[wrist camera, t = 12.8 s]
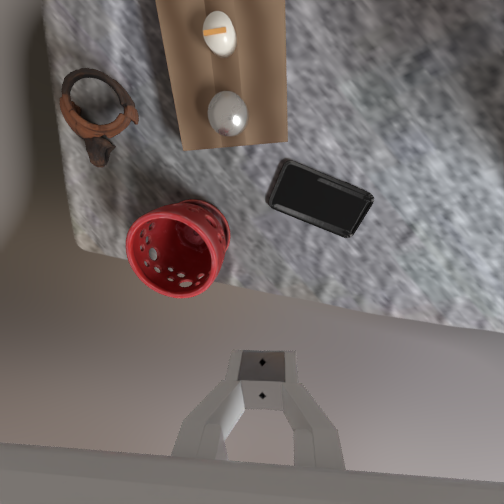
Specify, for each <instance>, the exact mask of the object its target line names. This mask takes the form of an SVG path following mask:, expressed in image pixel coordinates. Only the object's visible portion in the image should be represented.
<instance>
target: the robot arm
mask: <svg viewBox="0 0 504 504" xmlns="http://www.w3.org/2000/svg"><path fill="white" fill-rule="evenodd" d="M245 409H267V410H280V411H283V412H284V414H285V416H286V418H287V420H288V422H289V424H290V426H291V427H292V429H293V431H294V466H290V465H277V464H265V463H252V462H239V461H229V459H228V455H227V451H226V446H225V442H224V441H225V439H226V438H227V436H228V435H229V433H230V432H231V430H232V429H233V427H234V426H235V424H236V423H237V421H238V420H239V418H240V417H241V415H242V414H243V412H244V411H245ZM0 504H504V482H491V481H479V480H466V479H453V478H441V477H428V476H415V475H403V474H390V473H378V472H365V471H353V470H346V469H345V464H344V459H343V454H342V449H341V444H340V439H339V435H338V430H337V429H336V428H335V426H334V425H333V424H332V422H331V421H330V420H329V418H328V417H327V416H326V414H325V413H324V412H323V410H322V409H321V408H320V406H319V405H318V404H317V402H316V401H315V400H314V399H313V397H312V396H311V395H310V393H309V392H308V391H307V389H306V388H305V387H304V385H303V384H302V383H298V371H297V358H296V352H295V351H285V352H284V351H252V350H232V352H231V356H230V360H229V365H228V369H227V374H226V378H225V380H222V381H221V382H220V383H219V384H218V385H217V386H216V387H215V388H214V389H213V390H212V391H211V392H210V393H209V394H208V395H207V396H206V397H205V398H204V399H203V401H202V402H200V404H199V405H198V406H197V407H196V408H195V409H194V410H193V411H192V412H191V413H190V414H189V415H188V416H187V417H186V418H185V419H184V420H183V422H182V425H181V428H180V431H179V434H178V437H177V440H176V442H175V445H174V448H173V451H172V454H171V456H164V455H151V454H138V453H126V452H113V451H101V450H88V449H76V448H63V447H51V446H39V445H26V444H14V443H1V442H0Z"/></svg>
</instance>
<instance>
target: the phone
mask: <svg viewBox="0 0 504 504" xmlns="http://www.w3.org/2000/svg"><path fill="white" fill-rule="evenodd" d="M373 202H374V197H373V195H372V194H370V193H368V192H366V191H365V190H362V189H359V188H358V187H356V186H353V185H351V184H349V183H346V182H345V183H344V182H342V181H340V180H337V179H335V178H333V177H330V176H328V175H325V174H323V173H321V172H318V171H316V170H313V169H311V168H309V167H306V166H304V165H302V164H299V163H297V162H294V161H287V162H286V163H284V165H283V167H282V170H281V172H280V174H279V177H278V179H277V182H276V184H275V186H274V189H273V191H272V194H271V196H270V199H269V205H270V207H271V208H272V209H275V210H277V211H280V212H282V213H285V214H287V215H289V216H292V217H294V218H297V219H299V220H302V221H304V222H307V223H309V224H312V225H314V226H317V227H319V228H322V229H324V230H327V231H329V232H332V233H334V234H337V235H339V236H341V237H344V238H349V237H351V236H353V235H354V233H355V232H356V230H357V228H358V227H359V225H360V223H361V222H362V220H363V219H364V217H365V215H366V214H367V212H368V211H369V209H370V207H371V206H372V204H373Z"/></svg>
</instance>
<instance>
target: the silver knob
mask: <svg viewBox="0 0 504 504" xmlns="http://www.w3.org/2000/svg"><path fill="white" fill-rule="evenodd" d="M208 119H209V122H210V124H211V126H212V128H213V129H214V130H215V131H216V132H217V133H219V134H220V135H223V136H237V135H239V134H241V133H242V132H243V131H244V130H245V128H246V127H247V124H248V121H249V111H248V108H247V105H246V104H245V102H244V101H243V100H242V99H241V98H240V97H239V96H238V95H237V94H236V93H234V92H231V91H222V92H219V93H218V94H216V95H215V96H214V97H213V98H212V100H211V101H210V104H209V107H208Z"/></svg>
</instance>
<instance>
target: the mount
mask: <svg viewBox="0 0 504 504" xmlns="http://www.w3.org/2000/svg"><path fill="white" fill-rule="evenodd" d="M155 1H156V6H157V12H158V17H159V23H160V28H161V33H162V39H163V44H164V49H165V55H166V60H167V66H168V71H169V76H170V82H171V87H172V92H173V98H174V103H175V109H176V114H177V119H178V125H179V130H180V135H181V141H182V146H183V151H188V150H199V149H210V148H222V147H233V146H244V145H255V144H266V143H278V142H288V131H287V79H286V27H285V0H155ZM214 11H221V12H223V13H225V14H226V15H227V16H228V17H229V19H230V20H231V22H232V25H233V27H234V30H235V32H236V35H237V45H236V48H235V51H234V52H233V54H232V55H230V56H229V57H227V58H220V57H218V56H216V55H215V54H214V53H213V52H212V50H211V49H210V48H209V46H208V45H207V44H206V42H205V40H204V37H203V24H204V21H205V19H206V17H207V16H208V15H209V14H210V13H212V12H214ZM222 91H231V92H234V93H236V94H237V95H238V96H239V97H240V98H241V99H242V100H243V101H244V102H245V104H246V105H247V108H248V111H249V121H248V124H247V127H246V128H245V130H244V131H243V132H242V133H241V134H239V135H237V136H223V135H220V134H219V133H217V132H216V131H215V130H214V129H213V128H212V126H211V124H210V122H209V119H208V107H209V104H210V101H211V100H212V98H213V97H214V96H215V95H216V94H218V93H219V92H222Z"/></svg>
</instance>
